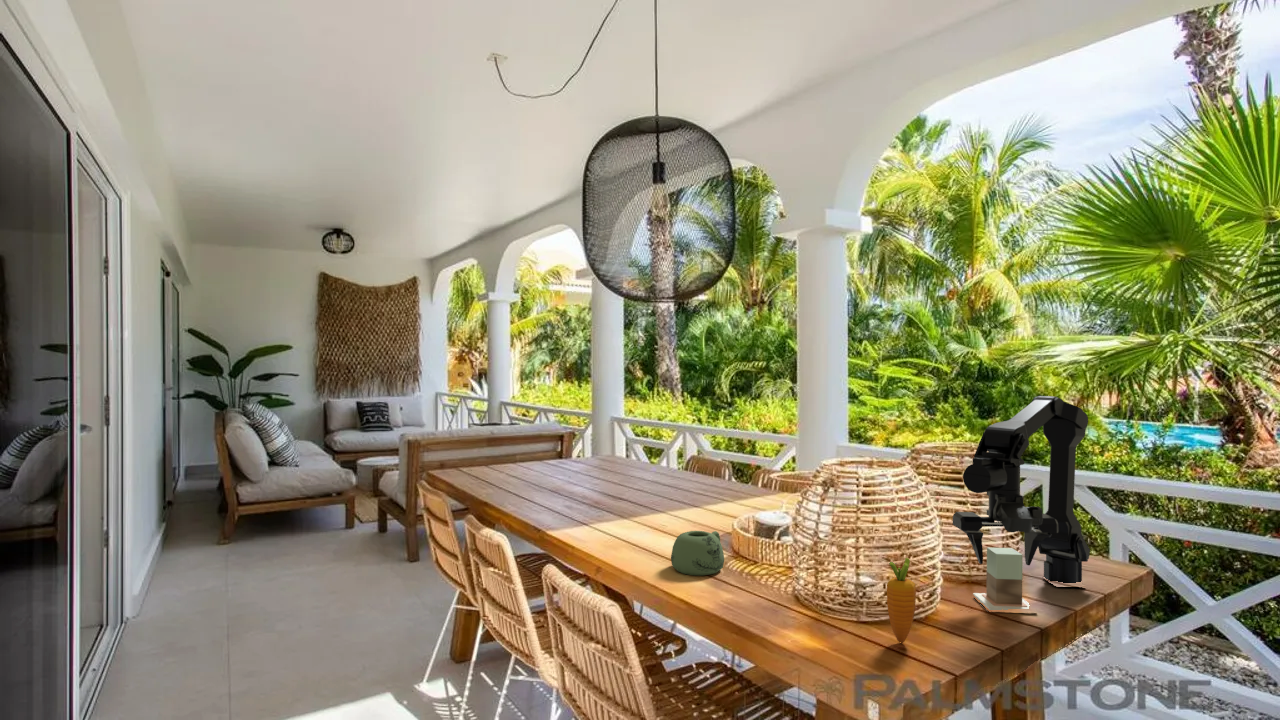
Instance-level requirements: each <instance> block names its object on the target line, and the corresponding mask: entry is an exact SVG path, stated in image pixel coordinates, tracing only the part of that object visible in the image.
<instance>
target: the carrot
mask: <svg viewBox="0 0 1280 720" xmlns="http://www.w3.org/2000/svg"><path fill="white" fill-rule="evenodd" d="M910 562H911V559H910V558H908V557H905V558H904V563H903V565H902V567H901V568H900V567H898V568H897V566H896V563H895V564H894V563H893V562H890V563H889V566H890V567H891V569H892V571H893V573H894V575H895V577H892V578H890V579H889V581H888V582H886V583H887V584H886V600H887V601H886V604H887V605H886V606H887V611H888V618H889V623H890V626H891V629H892V632H893V635H894V637H895V638H896V640H897V642H898V643H900V642H901V643H902V644H904V642H905V641H906V640H907V638H908V636H909V634H910V632H911V629H912V626H913V622H914V617H915V611H916V601H917V599H916V598H917V597H916V596H917V587H916V583H915V582H914V581H912V580H911V579H909V578H906V577H907V574H908V572H909V566H910ZM901 643H900V644H901Z"/></svg>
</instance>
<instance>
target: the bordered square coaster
mask: <svg viewBox="0 0 1280 720" xmlns="http://www.w3.org/2000/svg"><path fill="white" fill-rule="evenodd" d="M973 595H974V596H975V597H976V598H977V599H978V600H980V602H981V603H983V604H984V605H985V606H986V607H987V608H988V609H989V610H1002V609H1003V610H1008V609H1029V606H1030V605H1029V602H1028V601H1027V600H1026V599H1025V598H1023V597H1022V604H996V603H995V602H994V601H992V600H991V599H990V598H989V597H988V596H987V595H986V593H985V592H982V593H979V592H973V593H972V596H973Z"/></svg>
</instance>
